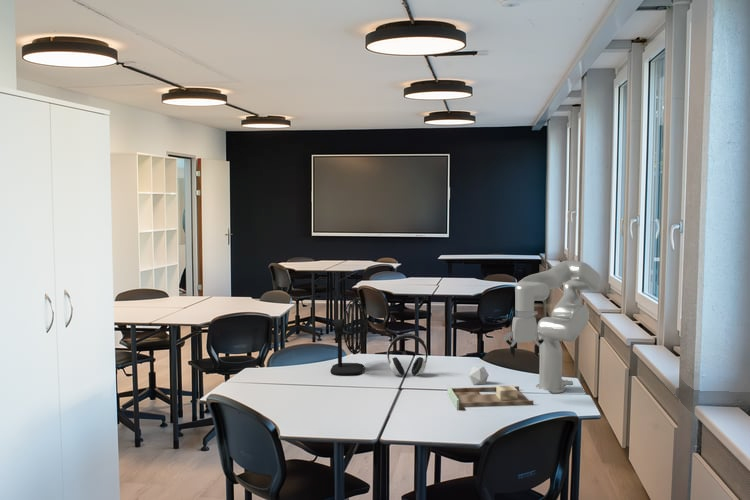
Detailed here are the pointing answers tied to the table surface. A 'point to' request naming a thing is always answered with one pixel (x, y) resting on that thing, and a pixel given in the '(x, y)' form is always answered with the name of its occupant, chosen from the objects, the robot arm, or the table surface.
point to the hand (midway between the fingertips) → (524, 355)
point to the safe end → (453, 397)
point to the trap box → (486, 398)
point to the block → (506, 392)
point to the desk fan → (340, 329)
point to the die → (478, 375)
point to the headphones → (419, 362)
